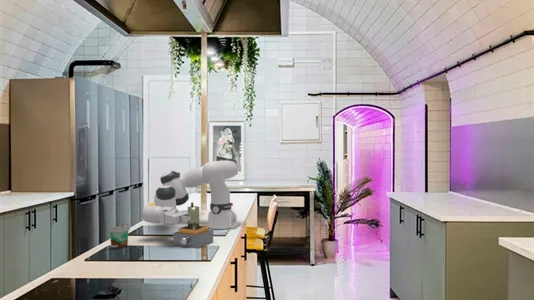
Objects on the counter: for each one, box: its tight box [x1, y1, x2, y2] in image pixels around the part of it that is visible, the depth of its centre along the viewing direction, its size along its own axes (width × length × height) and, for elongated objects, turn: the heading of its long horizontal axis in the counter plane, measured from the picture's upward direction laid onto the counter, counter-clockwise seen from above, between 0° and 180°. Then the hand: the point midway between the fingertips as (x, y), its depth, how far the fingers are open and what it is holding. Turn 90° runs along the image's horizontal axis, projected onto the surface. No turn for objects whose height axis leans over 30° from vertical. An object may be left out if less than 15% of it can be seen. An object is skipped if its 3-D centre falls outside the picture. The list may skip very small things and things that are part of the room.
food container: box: [109, 223, 131, 250], centre depth 213 cm, size 12×6×10 cm, turn 168°
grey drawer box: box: [172, 225, 214, 249], centre depth 218 cm, size 17×14×8 cm
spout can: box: [187, 201, 200, 229], centre depth 220 cm, size 6×6×13 cm
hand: (195, 217), depth 219 cm, fingers closed on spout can, 5 cm apart
